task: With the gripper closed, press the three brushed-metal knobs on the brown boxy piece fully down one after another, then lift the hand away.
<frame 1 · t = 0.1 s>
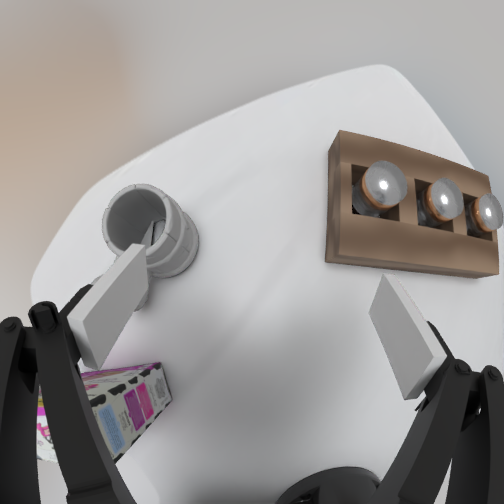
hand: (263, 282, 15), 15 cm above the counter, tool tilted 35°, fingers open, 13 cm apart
knob b: (437, 204, 27), point 6 cm above the counter, slide at 0.0 cm
knob c: (378, 190, 27), point 5 cm above the counter, slide at 0.0 cm
mug: (160, 262, 31), on the counter
candy bar box: (125, 385, 28), on the counter
brown boxy piece: (413, 217, 32), on the counter
knob a: (481, 216, 27), point 6 cm above the counter, slide at 0.0 cm
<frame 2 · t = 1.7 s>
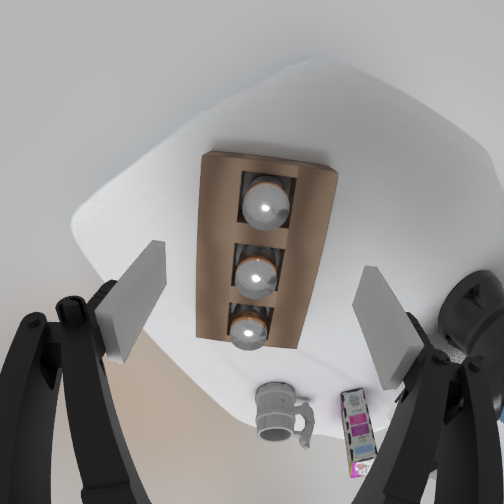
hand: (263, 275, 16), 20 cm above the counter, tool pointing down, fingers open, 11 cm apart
knob b: (256, 270, 32), point 6 cm above the counter, slide at 0.0 cm
knob c: (249, 324, 36), point 6 cm above the counter, slide at 0.0 cm
mug: (285, 394, 50), on the counter
candy bar box: (350, 403, 52), on the counter
brown boxy piece: (258, 249, 37), on the counter
knob a: (266, 201, 29), point 6 cm above the counter, slide at 0.0 cm
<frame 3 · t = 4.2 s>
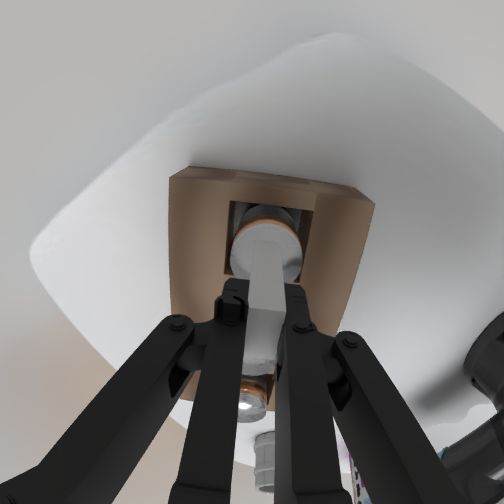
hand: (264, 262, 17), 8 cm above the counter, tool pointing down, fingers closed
knob b: (253, 335, 23), point 6 cm above the counter, slide at 0.0 cm
knob c: (244, 392, 26), point 6 cm above the counter, slide at 0.0 cm
mug: (287, 440, 41), on the counter
candy bar box: (360, 444, 42), on the counter
brown boxy piece: (256, 298, 28), on the counter
knob a: (266, 245, 20), point 5 cm above the counter, slide at 0.3 cm, touching gripper
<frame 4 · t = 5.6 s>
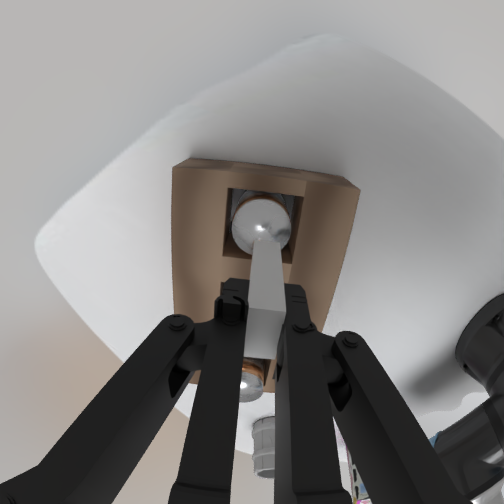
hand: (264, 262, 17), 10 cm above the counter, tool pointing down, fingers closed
knob c: (242, 372, 28), point 6 cm above the counter, slide at 0.0 cm
mug: (284, 426, 43), on the counter
candy bar box: (356, 431, 45), on the counter
brown boxy piece: (252, 282, 30), on the counter
knob a: (261, 218, 23), point 3 cm above the counter, slide at 2.5 cm
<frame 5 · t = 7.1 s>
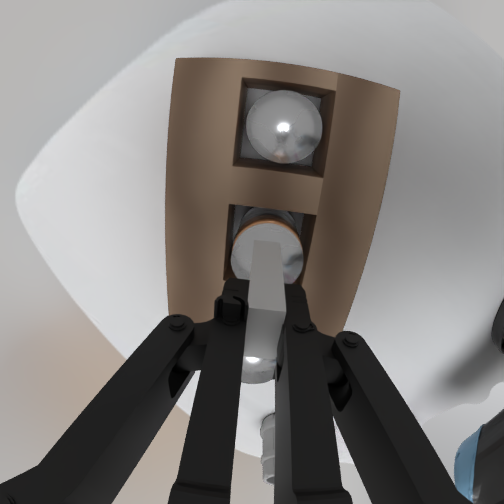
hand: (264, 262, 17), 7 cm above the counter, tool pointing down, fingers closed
knob b: (267, 245, 20), point 4 cm above the counter, slide at 1.2 cm, touching gripper
knob c: (253, 343, 22), point 6 cm above the counter, slide at 0.0 cm
mug: (298, 423, 36), on the counter
brown boxy piece: (267, 224, 23), on the counter
knob a: (282, 126, 17), point 3 cm above the counter, slide at 2.5 cm
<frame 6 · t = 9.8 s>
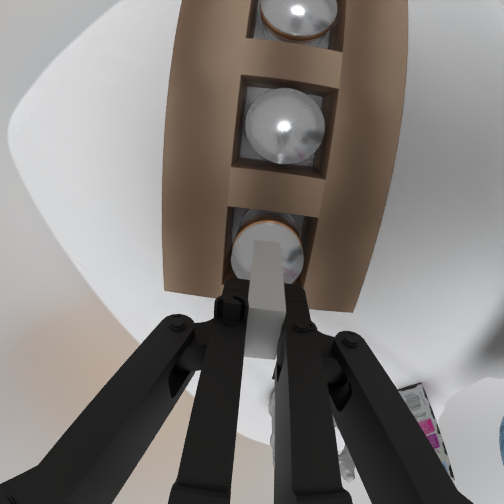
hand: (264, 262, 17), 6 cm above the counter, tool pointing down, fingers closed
knob b: (283, 125, 17), point 3 cm above the counter, slide at 2.5 cm
knob c: (267, 244, 20), point 4 cm above the counter, slide at 1.9 cm, touching gripper
mug: (313, 397, 32), on the counter
candy bar box: (400, 405, 34), on the counter
brown boxy piece: (281, 125, 19), on the counter
knob a: (295, 16, 13), point 3 cm above the counter, slide at 2.5 cm
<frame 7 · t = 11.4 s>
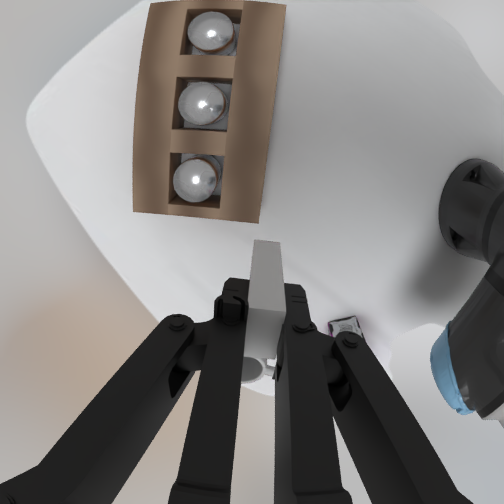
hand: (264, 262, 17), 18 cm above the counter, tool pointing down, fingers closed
knob b: (204, 104, 26), point 3 cm above the counter, slide at 2.5 cm
knob c: (198, 176, 30), point 3 cm above the counter, slide at 2.5 cm
mug: (256, 323, 43), on the counter
candy bar box: (342, 341, 45), on the counter
brown boxy piece: (209, 105, 29), on the counter
knob a: (213, 36, 23), point 3 cm above the counter, slide at 2.5 cm
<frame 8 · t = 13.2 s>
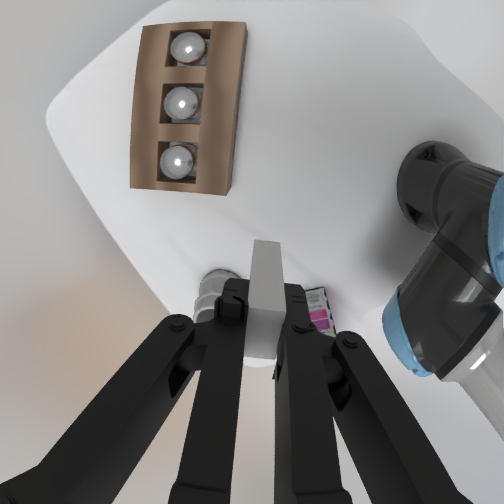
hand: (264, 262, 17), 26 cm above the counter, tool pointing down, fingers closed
knob b: (185, 104, 34), point 3 cm above the counter, slide at 2.5 cm
knob c: (180, 160, 37), point 3 cm above the counter, slide at 2.5 cm
mug: (234, 290, 50), on the counter
candy bar box: (314, 312, 51), on the counter
brown boxy piece: (190, 105, 37), on the counter
knob a: (191, 50, 30), point 3 cm above the counter, slide at 2.5 cm
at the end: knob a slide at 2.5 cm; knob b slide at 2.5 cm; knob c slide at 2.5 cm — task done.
